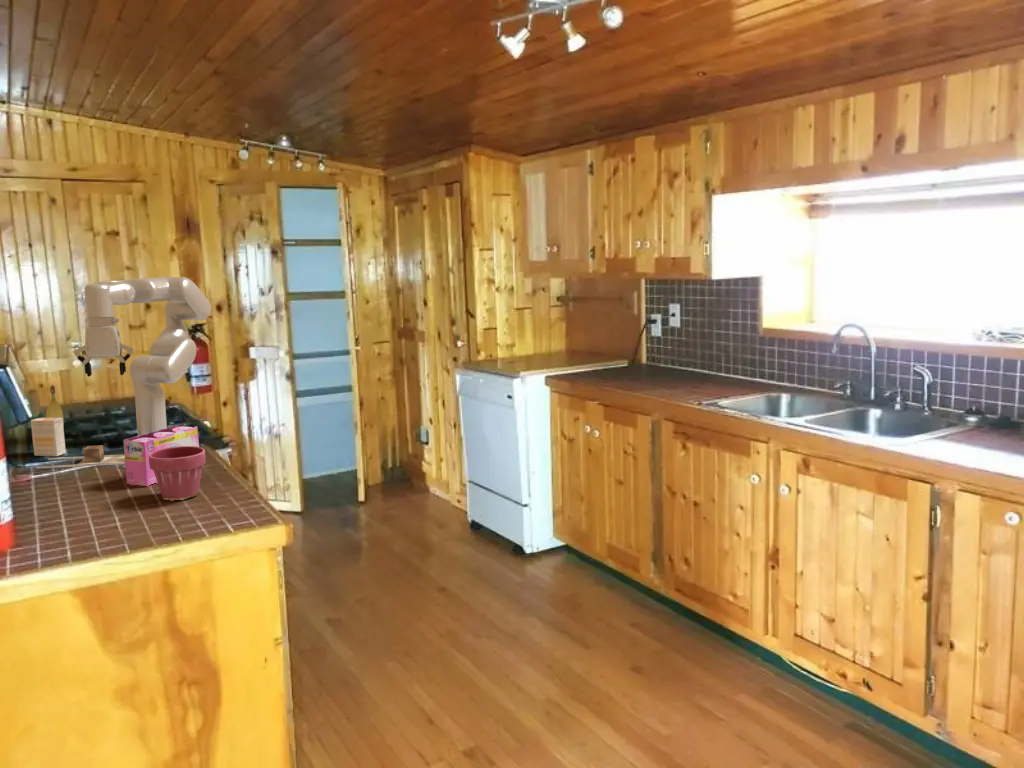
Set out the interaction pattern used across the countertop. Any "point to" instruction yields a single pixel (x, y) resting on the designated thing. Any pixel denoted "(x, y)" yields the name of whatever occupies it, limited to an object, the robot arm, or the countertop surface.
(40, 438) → the supplement box
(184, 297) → the robot arm
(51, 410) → the banana
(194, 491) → the plant pot
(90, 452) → the block
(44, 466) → the rails
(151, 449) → the gum box
